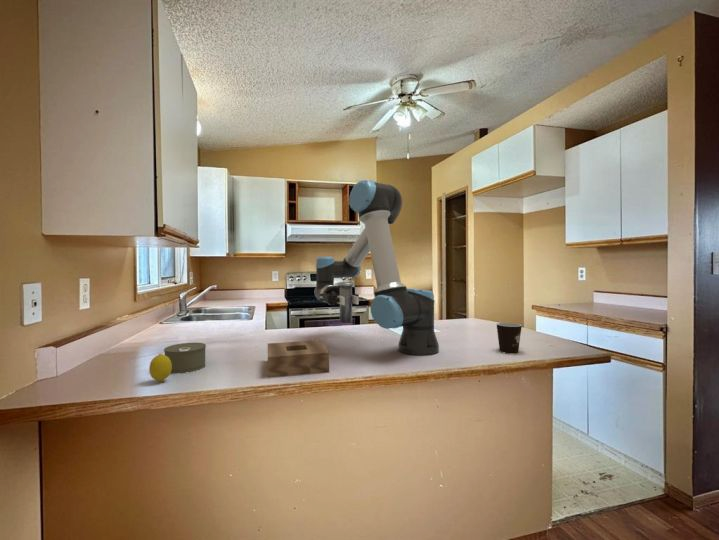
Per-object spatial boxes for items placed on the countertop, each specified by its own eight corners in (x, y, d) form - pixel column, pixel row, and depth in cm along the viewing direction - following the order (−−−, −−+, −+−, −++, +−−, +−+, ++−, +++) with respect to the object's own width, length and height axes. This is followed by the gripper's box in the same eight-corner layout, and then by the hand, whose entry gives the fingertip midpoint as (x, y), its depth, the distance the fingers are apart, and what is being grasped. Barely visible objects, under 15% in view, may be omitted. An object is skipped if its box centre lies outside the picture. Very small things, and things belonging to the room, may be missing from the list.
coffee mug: (506, 355, 126) (506, 327, 126) (491, 349, 135) (491, 323, 134) (534, 352, 129) (534, 325, 129) (518, 347, 137) (518, 321, 137)
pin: (355, 320, 129) (355, 282, 129) (351, 323, 124) (351, 283, 123) (340, 319, 131) (340, 282, 130) (335, 322, 125) (335, 283, 125)
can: (207, 361, 121) (206, 341, 121) (205, 371, 110) (204, 349, 110) (167, 365, 117) (167, 344, 117) (161, 376, 106) (160, 353, 106)
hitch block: (320, 357, 125) (320, 340, 125) (329, 372, 108) (328, 352, 108) (267, 361, 121) (267, 343, 121) (268, 377, 103) (267, 357, 103)
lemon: (148, 381, 101) (148, 353, 101) (170, 377, 104) (170, 350, 104) (150, 386, 96) (150, 357, 96) (173, 382, 100) (172, 354, 99)
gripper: (351, 303, 147) (374, 310, 125) (310, 305, 141) (326, 313, 119) (351, 285, 147) (373, 289, 125) (310, 286, 141) (326, 290, 119)
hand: (350, 300), depth 122 cm, fingers closed on pin, 4 cm apart
